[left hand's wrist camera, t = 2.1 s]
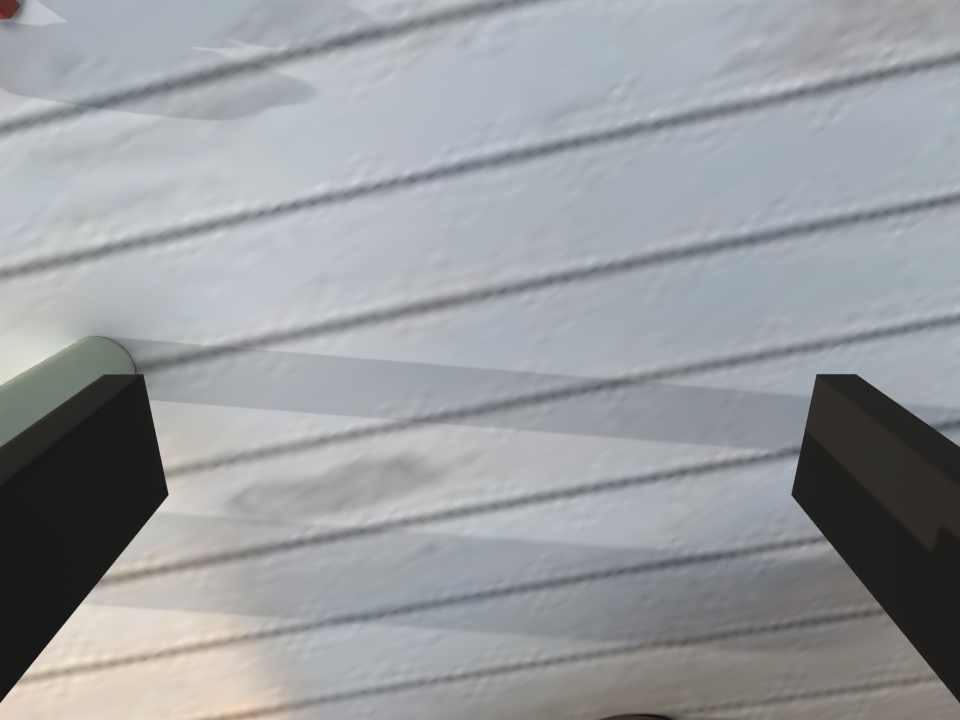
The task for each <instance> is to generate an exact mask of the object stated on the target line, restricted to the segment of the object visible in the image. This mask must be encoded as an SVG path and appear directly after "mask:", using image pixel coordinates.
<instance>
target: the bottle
mask: <svg viewBox="0 0 960 720" xmlns="http://www.w3.org/2000/svg"><path fill="white" fill-rule="evenodd" d="M104 374H135V367H134V364H133V361H132V359H131V357H130V356H129V354H128V353H127V352H126V351H125V350H124V349H123V348H122V347H121V346H120V345H119V344H117V343H115V342H114V341H112V340H109V339H107V338H103V337H86V338H83V339H81V340H79V341H77V342H75V343H74V344H72V345H70V346H69V347H67V348H65V349H63V350H62V351H60V352H58V353H56V354H55V355H53V356H51V357H49V358H48V359H46V360H44V361H42V362H41V363H39V364H37V365H35V366H34V367H32V368H30V369H28V370H27V371H25V372H23V373H21V374H20V375H18V376H16V377H14V378H13V379H11V380H9V381H8V382H6V383H4V384H2V385H1V386H0V447H1V446H3V445H4V444H5V443H7V442H8V441H10V440H11V439H13V438H14V437H15V436H17V435H18V434H20V433H21V432H23V431H24V430H25V429H27V428H28V427H30V426H31V425H32V424H34V423H35V422H37V421H38V420H40V419H41V418H42V417H44V416H45V415H47V414H48V413H50V412H51V411H52V410H54V409H55V408H57V407H58V406H60V405H61V404H62V403H64V402H65V401H67V400H68V399H70V398H71V397H72V396H74V395H75V394H77V393H78V392H79V391H81V390H82V389H84V388H85V387H87V386H88V385H89V384H91V383H92V382H94V381H95V380H97V379H98V378H99V377H101V376H102V375H104Z"/></svg>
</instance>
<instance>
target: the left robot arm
mask: <svg viewBox="0 0 960 720" xmlns="http://www.w3.org/2000/svg"><path fill="white" fill-rule="evenodd" d="M168 495H169V494H168V490H167V485H166V480H165V475H164V471H163V466H162V461H161V456H160V452H159V447H158V442H157V437H156V432H155V428H154V423H153V418H152V413H151V409H150V404H149V399H148V394H147V390H146V385H145V380H144V375H143V374H104V375H102V376H101V377H99V378H98V379H97V380H95V381H94V382H92V383H91V384H89V385H88V386H87V387H85V388H84V389H82V390H81V391H79V392H78V393H77V394H75V395H74V396H72V397H71V398H70V399H68V400H67V401H65V402H64V403H62V404H61V405H60V406H58V407H57V408H55V409H54V410H52V411H51V412H50V413H48V414H47V415H45V416H44V417H42V418H41V419H40V420H38V421H37V422H35V423H34V424H32V425H31V426H30V427H28V428H27V429H25V430H24V431H23V432H21V433H20V434H18V435H17V436H15V437H14V438H13V439H11V440H10V441H8V442H7V443H5V444H4V445H3V446H1V447H0V703H1V701H2V700H3V699H4V698H5V696H6V695H7V694H8V693H9V692H10V690H11V689H12V688H13V687H14V685H15V684H16V683H17V682H18V680H19V679H20V678H21V677H22V675H23V674H24V673H25V672H26V671H27V669H28V668H29V667H30V666H31V664H32V663H33V662H34V661H35V659H36V658H37V657H38V656H39V654H40V653H41V652H42V651H43V650H44V648H45V647H46V646H47V645H48V643H49V642H50V641H51V640H52V638H53V637H54V636H55V635H56V633H57V632H58V631H59V630H60V629H61V627H62V626H63V625H64V624H65V622H66V621H67V620H68V619H69V617H70V616H71V615H72V614H73V612H74V611H75V610H76V609H77V608H78V606H79V605H80V604H81V603H82V601H83V600H84V599H85V598H86V596H87V595H88V594H89V593H90V591H91V590H92V589H93V588H94V587H95V585H96V584H97V583H98V582H99V580H100V579H101V578H102V577H103V575H104V574H105V573H106V572H107V570H108V569H109V568H110V567H111V566H112V564H113V563H114V562H115V561H116V559H117V558H118V557H119V556H120V554H121V553H122V552H123V551H124V549H125V548H126V547H127V546H128V545H129V543H130V542H131V541H132V540H133V538H134V537H135V536H136V535H137V533H138V532H139V531H140V530H141V528H142V527H143V526H144V525H145V524H146V522H147V521H148V520H149V519H150V517H151V516H152V515H153V514H154V512H155V511H156V510H157V509H158V507H159V506H160V505H161V504H162V503H163V501H164V500H165V499H166V498H167V496H168ZM791 495H792V496H793V498H794V499H795V500H796V501H797V503H798V504H799V505H800V506H801V507H802V509H803V510H804V511H805V512H806V514H807V515H808V516H809V517H810V519H811V520H812V521H813V522H814V524H815V525H816V526H817V527H818V528H819V530H820V531H821V532H822V533H823V535H824V536H825V537H826V538H827V540H828V541H829V542H830V543H831V545H832V546H833V547H834V548H835V549H836V551H837V552H838V553H839V554H840V556H841V557H842V558H843V559H844V561H845V562H846V563H847V564H848V566H849V567H850V568H851V569H852V570H853V572H854V573H855V574H856V575H857V577H858V578H859V579H860V580H861V582H862V583H863V584H864V585H865V587H866V588H867V589H868V590H869V591H870V593H871V594H872V595H873V596H874V598H875V599H876V600H877V601H878V603H879V604H880V605H881V606H882V608H883V609H884V610H885V611H886V612H887V614H888V615H889V616H890V617H891V619H892V620H893V621H894V622H895V624H896V625H897V626H898V627H899V629H900V630H901V631H902V632H903V633H904V635H905V636H906V637H907V638H908V640H909V641H910V642H911V643H912V645H913V646H914V647H915V648H916V650H917V651H918V652H919V653H920V654H921V656H922V657H923V658H924V659H925V661H926V662H927V663H928V664H929V666H930V667H931V668H932V669H933V671H934V672H935V673H936V674H937V675H938V677H939V678H940V679H941V680H942V682H943V683H944V684H945V685H946V687H947V688H948V689H949V690H950V692H951V693H952V694H953V695H954V696H955V698H956V699H957V700H958V701H959V703H960V447H959V446H957V445H956V444H955V443H953V442H952V441H950V440H949V439H947V438H946V437H945V436H943V435H942V434H940V433H939V432H937V431H936V430H935V429H933V428H932V427H930V426H929V425H928V424H926V423H925V422H923V421H922V420H920V419H919V418H918V417H916V416H915V415H913V414H912V413H910V412H909V411H908V410H906V409H905V408H903V407H902V406H900V405H899V404H898V403H896V402H895V401H893V400H892V399H890V398H889V397H888V396H886V395H885V394H883V393H882V392H881V391H879V390H878V389H876V388H875V387H873V386H872V385H871V384H869V383H868V382H866V381H865V380H863V379H862V378H861V377H859V376H858V375H856V374H817V375H816V380H815V385H814V390H813V394H812V399H811V404H810V409H809V413H808V418H807V423H806V428H805V432H804V437H803V442H802V447H801V452H800V456H799V461H798V466H797V471H796V475H795V480H794V485H793V490H792V494H791ZM609 720H666V719H662V718H657V717H649V716H627V717H619V718H613V719H609Z"/></svg>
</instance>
